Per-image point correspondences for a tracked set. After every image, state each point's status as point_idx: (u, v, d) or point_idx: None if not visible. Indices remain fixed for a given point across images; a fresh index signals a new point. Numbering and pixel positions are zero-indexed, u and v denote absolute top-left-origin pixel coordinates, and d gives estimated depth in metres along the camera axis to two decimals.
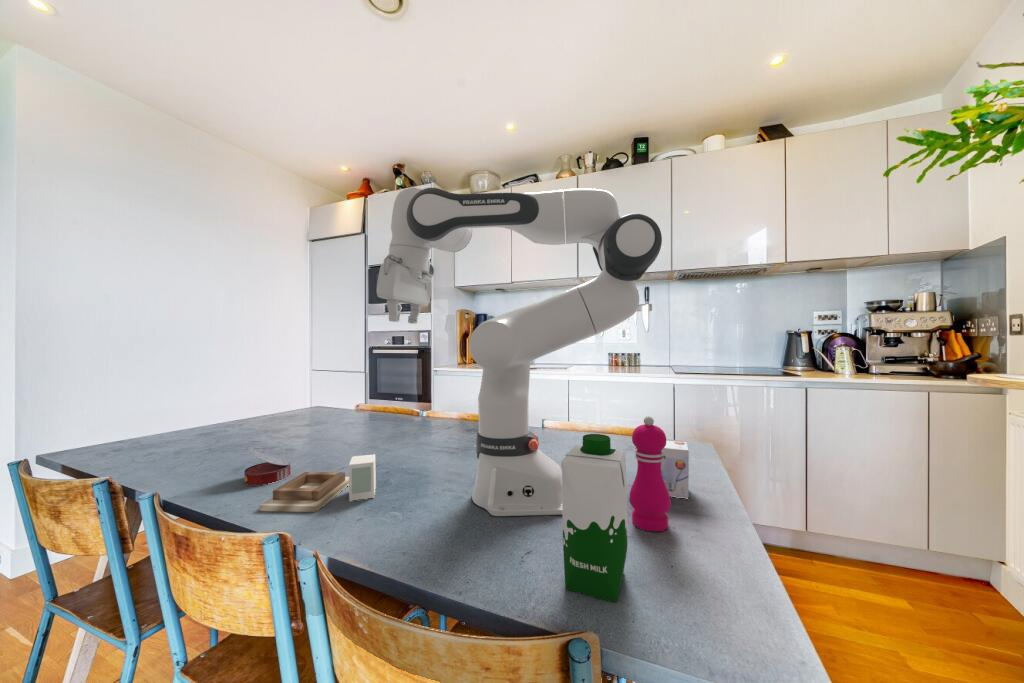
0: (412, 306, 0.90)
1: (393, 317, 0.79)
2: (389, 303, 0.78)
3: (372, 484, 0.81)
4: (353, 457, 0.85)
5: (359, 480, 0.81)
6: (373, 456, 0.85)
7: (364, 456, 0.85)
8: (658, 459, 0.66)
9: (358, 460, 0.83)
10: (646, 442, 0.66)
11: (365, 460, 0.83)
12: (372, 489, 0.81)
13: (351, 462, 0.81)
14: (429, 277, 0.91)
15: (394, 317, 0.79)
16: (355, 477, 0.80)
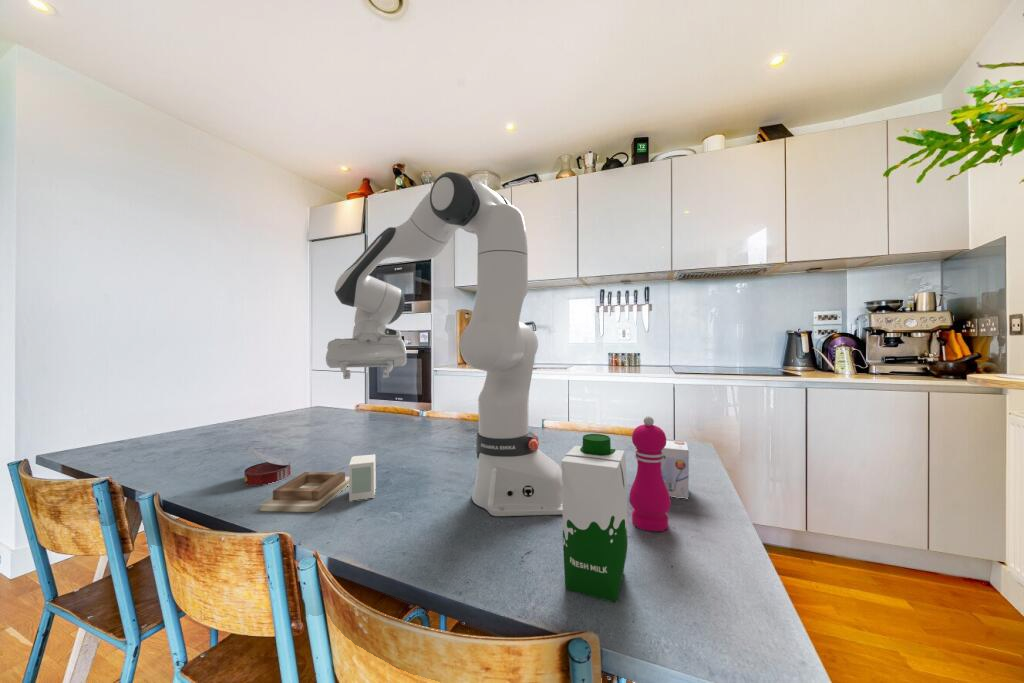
0: (387, 365, 1.00)
1: None
2: None
3: (372, 484, 0.81)
4: (353, 457, 0.85)
5: (359, 480, 0.81)
6: (373, 456, 0.85)
7: (364, 456, 0.85)
8: (658, 459, 0.66)
9: (358, 460, 0.83)
10: (646, 442, 0.66)
11: (365, 460, 0.83)
12: (372, 489, 0.81)
13: (351, 462, 0.81)
14: (392, 337, 1.03)
15: None
16: (355, 477, 0.80)
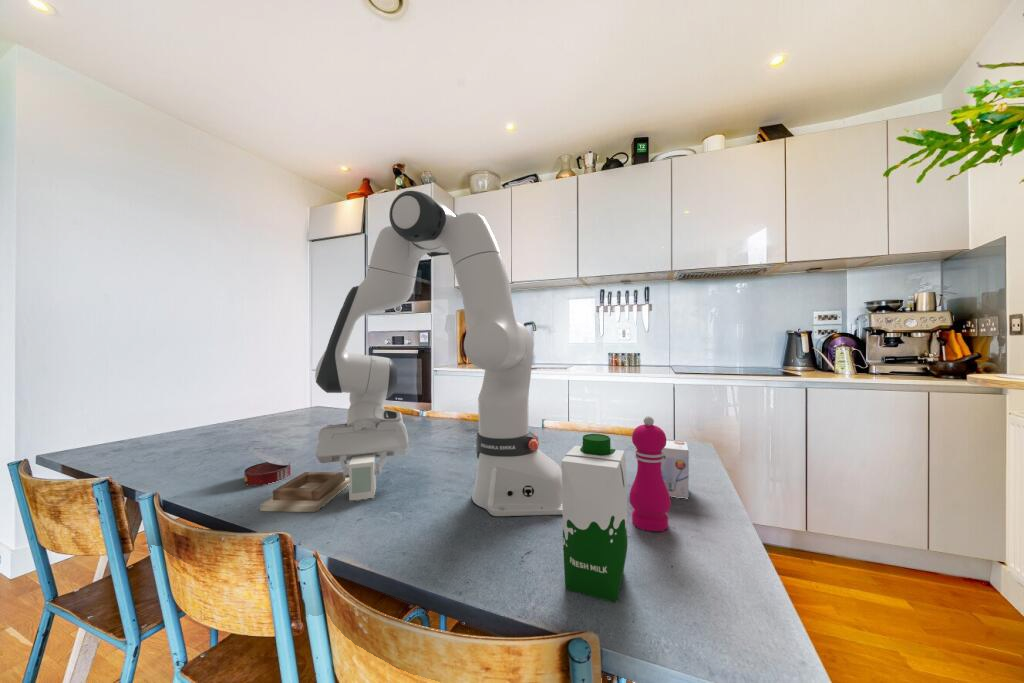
0: (380, 457, 0.87)
1: None
2: None
3: (372, 484, 0.81)
4: (353, 457, 0.85)
5: (359, 480, 0.81)
6: (373, 456, 0.85)
7: (364, 456, 0.85)
8: (658, 459, 0.66)
9: (358, 460, 0.83)
10: (646, 442, 0.66)
11: (365, 460, 0.83)
12: (372, 489, 0.81)
13: (351, 462, 0.81)
14: (392, 422, 0.91)
15: (343, 472, 0.82)
16: (355, 476, 0.80)
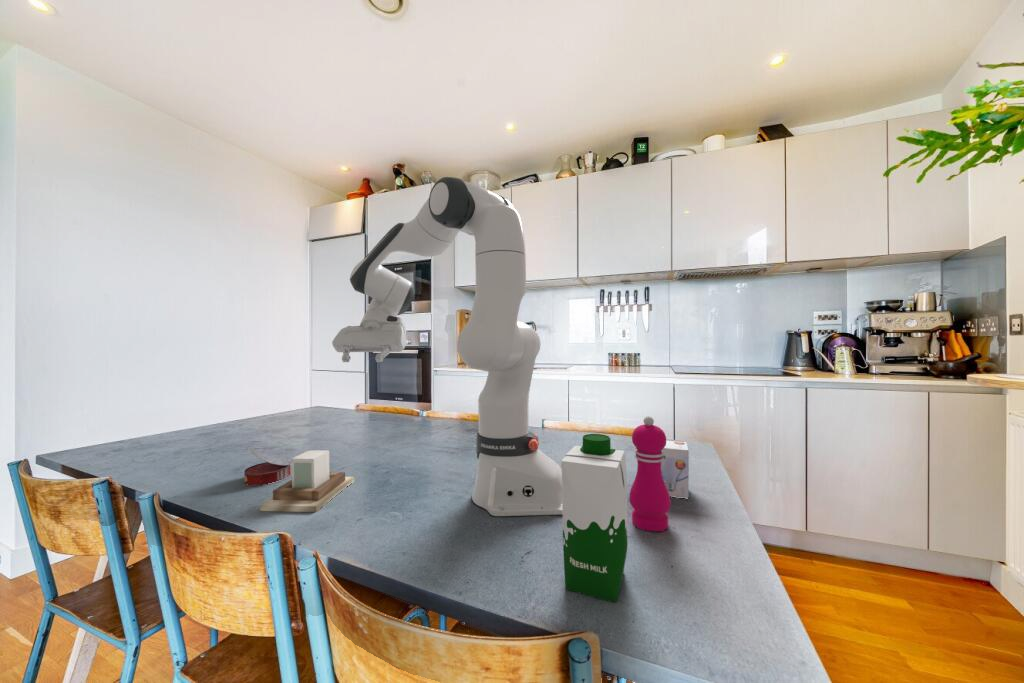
0: None
1: None
2: None
3: (313, 481, 0.80)
4: (307, 451, 0.86)
5: (301, 475, 0.80)
6: (323, 452, 0.85)
7: (317, 451, 0.85)
8: (658, 459, 0.66)
9: (306, 455, 0.83)
10: (646, 442, 0.66)
11: (311, 456, 0.82)
12: (313, 486, 0.80)
13: (297, 456, 0.82)
14: (393, 324, 1.07)
15: None
16: (297, 471, 0.80)
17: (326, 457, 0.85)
